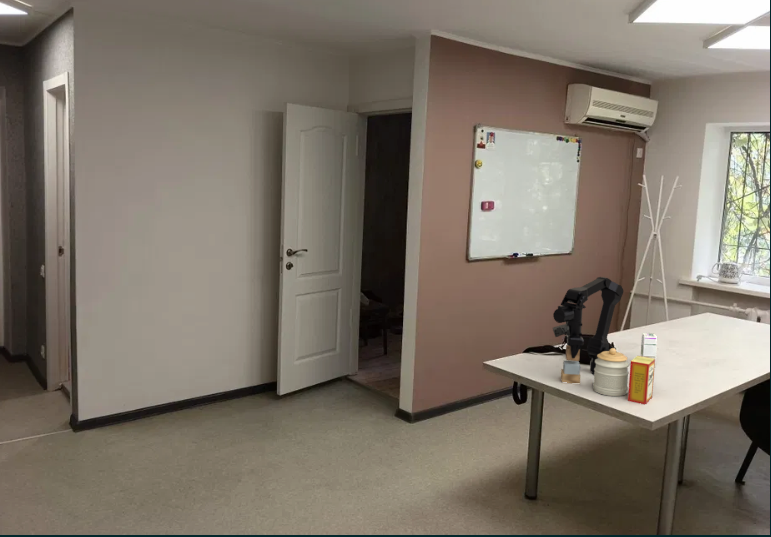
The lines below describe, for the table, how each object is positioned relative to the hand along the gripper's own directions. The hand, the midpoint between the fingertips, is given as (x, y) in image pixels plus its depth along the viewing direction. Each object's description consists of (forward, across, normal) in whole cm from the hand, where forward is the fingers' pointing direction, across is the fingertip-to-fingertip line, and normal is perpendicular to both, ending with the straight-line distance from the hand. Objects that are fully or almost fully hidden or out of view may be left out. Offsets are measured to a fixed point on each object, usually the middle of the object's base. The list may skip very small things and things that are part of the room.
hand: (572, 356), depth 263 cm
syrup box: (+11, -29, +36) cm, 47 cm away
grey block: (+7, 0, 0) cm, 7 cm away
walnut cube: (+1, 0, 0) cm, 1 cm away
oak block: (+11, 0, 0) cm, 11 cm away
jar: (+11, +10, +14) cm, 20 cm away
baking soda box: (+11, +17, +24) cm, 31 cm away
